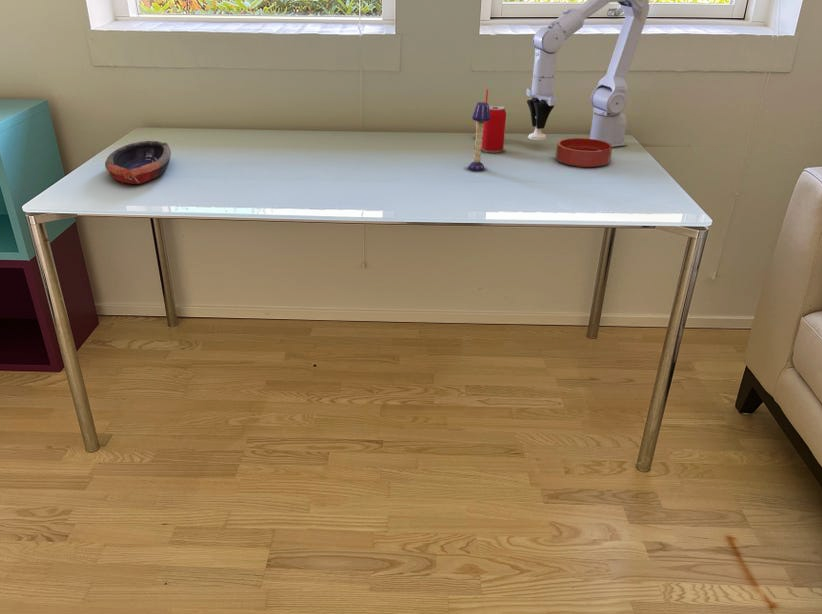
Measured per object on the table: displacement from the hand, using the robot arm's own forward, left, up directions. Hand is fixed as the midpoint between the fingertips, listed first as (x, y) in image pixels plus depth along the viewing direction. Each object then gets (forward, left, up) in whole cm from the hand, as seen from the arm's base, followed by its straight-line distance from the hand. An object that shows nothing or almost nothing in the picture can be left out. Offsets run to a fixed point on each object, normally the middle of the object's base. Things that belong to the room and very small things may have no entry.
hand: (538, 127), depth 204 cm
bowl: (-5, +15, -6) cm, 17 cm away
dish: (+106, -23, -7) cm, 109 cm away
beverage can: (+12, -4, -7) cm, 14 cm away
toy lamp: (+25, +10, -7) cm, 28 cm away
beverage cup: (+7, -17, -7) cm, 20 cm away
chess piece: (0, 0, -3) cm, 3 cm away
